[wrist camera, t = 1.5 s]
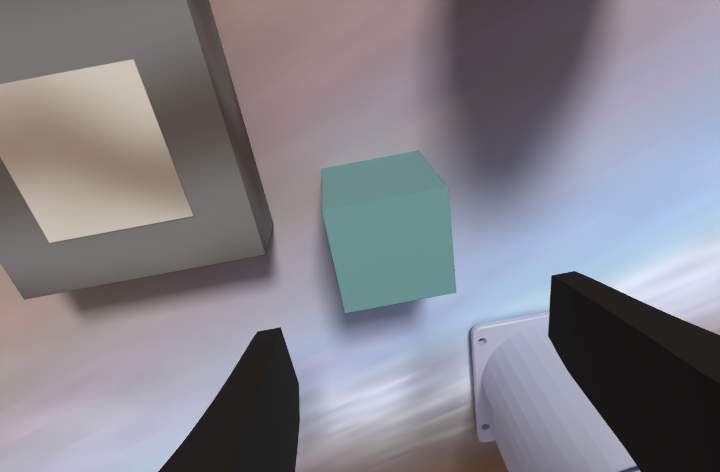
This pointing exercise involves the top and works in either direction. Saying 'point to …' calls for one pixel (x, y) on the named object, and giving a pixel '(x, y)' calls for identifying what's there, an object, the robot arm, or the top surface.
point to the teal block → (388, 231)
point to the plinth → (120, 145)
